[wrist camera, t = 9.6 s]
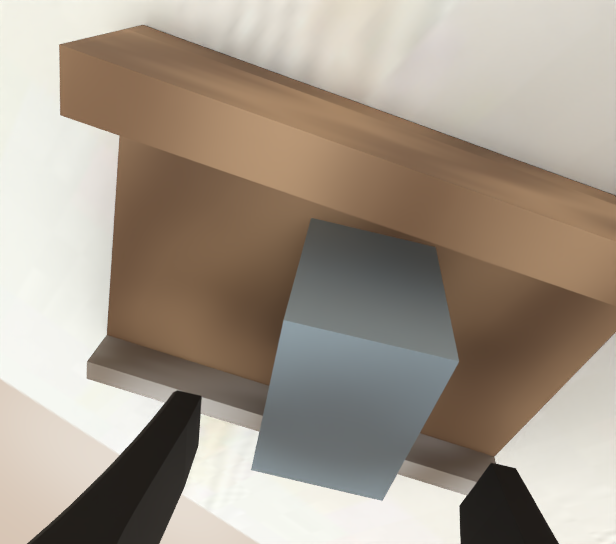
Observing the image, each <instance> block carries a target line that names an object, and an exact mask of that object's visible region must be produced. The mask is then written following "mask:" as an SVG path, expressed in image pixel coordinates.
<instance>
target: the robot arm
mask: <svg viewBox="0 0 616 544" xmlns="http://www.w3.org/2000/svg"><path fill="white" fill-rule="evenodd" d="M201 400H202V396H200V395H196V394H192V393H187V392H183V391H179V390H177V391H175V392H173V393H172V394H171V396H170V397H169V398H168V400H167V401H166V402H165V404H164V405H163V406H162V407H161V409H160V410H159V411H158V412H157V414H156V415H155V416H154V417H153V419H152V420H151V421H150V422H149V423H148V425H147V426H146V427H145V428H144V429H143V430H142V431H141V433H140V434H139V435H138V436H137V437H136V438H135V439H134V441H133V442H132V443H131V444H130V445H129V446H128V447H127V448H126V449H125V450H124V451H123V452H122V454H121V455H120V456H119V457H118V458H117V459H116V460H115V461H114V462H113V463H112V464H111V465H110V466H109V467H108V468H107V469H106V471H105V472H104V473H103V474H102V475H101V476H100V477H98V478H97V480H95V481H94V482H93V483H92V484H91V485H90V487H88V488H87V489H86V490H85V491H84V493H82V494H81V495H80V496H79V497H78V498H77V499H76V500H75V501H74V502H73V503H72V504H71V505H70V506H69V507H68V508H67V509H65V510H64V511H63V512H62V513H61V514H60V515H59V516H58V517H57V518H56V519H55V520H54V521H52V522H51V523H50V524H49V525H48V526H47V527H46V528H45V529H43V530H42V531H41V532H40V533H39V534H38V535H36V536H35V537H34V538H33V539H32V540H31V541H30V542H29V543H27V544H159V543H160V541H161V538H162V536H163V534H164V532H165V530H166V527H167V525H168V523H169V520H170V518H171V516H172V514H173V512H174V509H175V507H176V505H177V503H178V500H179V498H180V496H181V493H182V491H183V489H184V487H185V484H186V481H187V478H188V475H189V472H190V469H191V466H192V463H193V460H194V457H195V454H196V451H197V448H198V442H199V428H200V414H201ZM460 536H461V544H559V543H558V541H557V540H556V538H555V536H554V535H553V533H552V531H551V529H550V528H549V526H548V524H547V522H546V521H545V519H544V517H543V515H542V514H541V512H540V510H539V508H538V507H537V505H536V503H535V501H534V499H533V498H532V496H531V494H530V492H529V491H528V489H527V487H526V485H525V484H524V482H523V480H522V478H521V477H520V475H519V473H518V472H517V470H516V468H512V467H508V466H503V465H499V464H495V463H490V465H489V466H488V467H487V469H486V470H485V472H484V473H483V474H482V476H481V477H480V478H479V480H478V481H477V483H476V484H475V485H474V487H473V488H472V489H471V491H470V492H469V494H468V495H467V496H466V498H465V499H464V500H463V502H462V503H461V505H460Z"/></svg>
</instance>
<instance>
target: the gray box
mask: <svg viewBox="0 0 616 544" xmlns="http://www.w3.org/2000/svg"><path fill="white" fill-rule="evenodd" d="M458 363H459V358H458V353H457V348H456V343H455V339H454V334H453V329H452V324H451V319H450V314H449V310H448V305H447V300H446V295H445V290H444V285H443V281H442V276H441V271H440V266H439V261H438V256H437V252H436V247H433V246H428V245H424V244H420V243H416V242H412V241H407V240H403V239H399V238H395V237H390V236H386V235H382V234H378V233H373V232H369V231H365V230H361V229H356V228H352V227H348V226H344V225H340V224H335V223H331V222H327V221H323V220H318V219H314V218H311V220H310V224H309V228H308V231H307V235H306V239H305V242H304V246H303V250H302V254H301V257H300V261H299V265H298V268H297V272H296V276H295V279H294V283H293V287H292V291H291V294H290V298H289V302H288V305H287V309H286V313H285V316H284V320H283V325H282V329H281V334H280V339H279V343H278V348H277V353H276V357H275V362H274V367H273V371H272V376H271V381H270V385H269V390H268V394H267V399H266V404H265V408H264V413H263V418H262V422H261V427H260V432H259V436H258V441H257V446H256V450H255V455H254V460H253V464H252V469H251V470H254V471H258V472H262V473H266V474H271V475H275V476H279V477H283V478H288V479H292V480H296V481H300V482H305V483H309V484H313V485H317V486H322V487H326V488H330V489H334V490H339V491H343V492H347V493H351V494H356V495H360V496H364V497H369V498H373V499H377V500H381V501H383V499H384V497H385V495H386V493H387V491H388V490H389V488H390V486H391V484H392V482H393V481H394V479H395V477H396V475H397V473H398V472H399V470H400V468H401V466H402V464H403V462H404V461H405V459H406V457H407V455H408V453H409V452H410V450H411V448H412V446H413V444H414V443H415V441H416V439H417V437H418V435H419V433H420V432H421V430H422V428H423V426H424V424H425V423H426V421H427V419H428V417H429V415H430V414H431V412H432V410H433V408H434V406H435V404H436V403H437V401H438V399H439V397H440V395H441V394H442V392H443V390H444V388H445V386H446V385H447V383H448V381H449V379H450V377H451V375H452V374H453V372H454V370H455V368H456V366H457V365H458Z"/></svg>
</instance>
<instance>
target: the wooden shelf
mask: <svg viewBox="0 0 616 544" xmlns="http://www.w3.org/2000/svg"><path fill="white" fill-rule="evenodd" d="M59 52H60V115H61V116H64V117H67V118H70V119H73V120H76V121H79V122H82V123H85V124H88V125H91V126H93V127H96V128H99V129H102V130H105V131H108V132H111V133H114V134H117V135H120V138H119V153H118V169H117V185H116V200H115V216H114V232H113V247H112V263H111V279H110V294H109V310H108V325H107V335H106V337H105V338H104V340H103V341H102V342H101V344H100V345H99V346H98V348H97V349H96V350H95V352H94V353H93V354H92V356H91V357H90V358H89V360H88V361H87V379H90V380H93V381H96V382H100V383H103V384H106V385H110V386H113V387H116V388H119V389H123V390H126V391H129V392H132V393H136V394H139V395H142V396H145V397H149V398H152V399H155V400H158V401H162V402H166V401H167V400H168V398H169V397H170V396H171V394H172V393H173V392H175V391H177V390H179V391H183V392H187V393H192V394H196V395H200V396H202V400H201V414H204V415H207V416H210V417H214V418H217V419H220V420H223V421H227V422H230V423H233V424H236V425H240V426H243V427H246V428H250V429H253V430H256V431H259V432H260V427H261V422H262V418H263V413H264V408H265V404H266V399H267V394H268V390H269V385H270V381H271V376H272V371H273V367H274V362H275V357H276V353H277V348H278V343H279V339H280V334H281V329H282V325H283V320H284V316H285V313H286V309H287V305H288V302H289V298H290V294H291V291H292V287H293V283H294V279H295V276H296V272H297V268H298V265H299V261H300V257H301V254H302V250H303V246H304V242H305V239H306V235H307V231H308V228H309V224H310V220H311V218H314V219H318V220H323V221H327V222H331V223H335V224H340V225H344V226H348V227H352V228H356V229H361V230H365V231H369V232H373V233H378V234H382V235H386V236H390V237H395V238H399V239H403V240H407V241H412V242H416V243H420V244H424V245H428V246H433V247H436V252H437V256H438V261H439V266H440V271H441V276H442V281H443V285H444V290H445V295H446V300H447V305H448V310H449V314H450V319H451V324H452V329H453V334H454V339H455V343H456V348H457V353H458V358H459V363H458V365H457V366H456V368H455V370H454V372H453V374H452V375H451V377H450V379H449V381H448V383H447V385H446V386H445V388H444V390H443V392H442V394H441V395H440V397H439V399H438V401H437V403H436V404H435V406H434V408H433V410H432V412H431V414H430V415H429V417H428V419H427V421H426V423H425V424H424V426H423V428H422V430H421V432H420V433H419V435H418V437H417V439H416V441H415V443H414V444H413V446H412V448H411V450H410V452H409V453H408V455H407V457H406V459H405V461H404V462H403V464H402V466H401V468H400V470H399V472H398V473H397V474H399V475H403V476H406V477H409V478H412V479H416V480H419V481H422V482H425V483H429V484H432V485H435V486H438V487H442V488H445V489H448V490H451V491H455V492H458V493H461V494H464V495H468V494H469V492H470V491H471V489H472V488H473V487H474V485H475V484H476V483H477V481H478V480H479V478H480V477H481V476H482V474H483V473H484V472H485V470H486V469H487V467H488V466H489V465H490V463H495V464H496V462H495V458H494V456H495V455H496V454H497V453H498V452H499V451H500V450H501V449H502V448H503V447H504V446H505V445H506V444H507V443H508V442H509V441H510V440H511V439H512V438H513V437H514V436H515V435H516V434H517V433H518V432H519V431H520V430H521V429H522V428H523V427H524V426H525V425H526V423H527V422H528V421H529V420H530V419H531V418H532V417H533V416H534V415H535V414H536V413H537V412H538V411H539V410H540V409H541V408H542V407H543V406H544V405H545V404H546V403H547V402H548V401H549V400H550V399H551V398H552V397H553V396H554V395H555V394H556V393H557V392H558V391H559V390H560V389H561V388H562V387H563V386H564V384H565V383H566V382H567V381H568V380H569V379H570V378H571V377H572V376H573V375H574V374H575V373H576V372H577V371H578V370H579V369H580V368H581V367H582V366H583V365H584V364H585V363H586V362H587V361H588V360H589V359H590V358H591V357H592V356H593V355H594V354H595V353H596V352H597V351H598V350H599V349H600V348H601V347H602V345H603V344H604V343H605V342H606V341H607V340H608V339H609V338H610V337H611V336H612V335H613V334H614V333H615V332H616V196H615V195H612V194H609V193H607V192H604V191H601V190H598V189H596V188H593V187H590V186H587V185H584V184H582V183H579V182H576V181H573V180H571V179H568V178H565V177H562V176H560V175H557V174H554V173H551V172H548V171H546V170H543V169H540V168H537V167H535V166H532V165H529V164H526V163H524V162H521V161H518V160H515V159H512V158H510V157H507V156H504V155H501V154H499V153H496V152H493V151H490V150H488V149H485V148H482V147H479V146H476V145H474V144H471V143H468V142H465V141H463V140H460V139H457V138H454V137H452V136H449V135H446V134H443V133H441V132H438V131H435V130H432V129H429V128H427V127H424V126H421V125H418V124H416V123H413V122H410V121H407V120H405V119H402V118H399V117H396V116H393V115H391V114H388V113H385V112H382V111H380V110H377V109H374V108H371V107H369V106H366V105H363V104H360V103H357V102H355V101H352V100H349V99H346V98H344V97H341V96H338V95H335V94H333V93H330V92H327V91H324V90H321V89H319V88H316V87H313V86H310V85H308V84H305V83H302V82H299V81H297V80H294V79H291V78H288V77H286V76H283V75H280V74H277V73H274V72H272V71H269V70H266V69H263V68H261V67H258V66H255V65H252V64H250V63H247V62H244V61H241V60H238V59H236V58H233V57H230V56H227V55H225V54H222V53H219V52H216V51H214V50H211V49H208V48H205V47H202V46H200V45H197V44H194V43H191V42H189V41H186V40H183V39H180V38H178V37H175V36H172V35H169V34H166V33H164V32H161V31H158V30H155V29H153V28H150V27H147V26H144V25H141V26H137V27H132V28H128V29H124V30H119V31H115V32H111V33H107V34H102V35H98V36H94V37H90V38H85V39H81V40H77V41H72V42H68V43H64V44H60V45H59Z"/></svg>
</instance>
